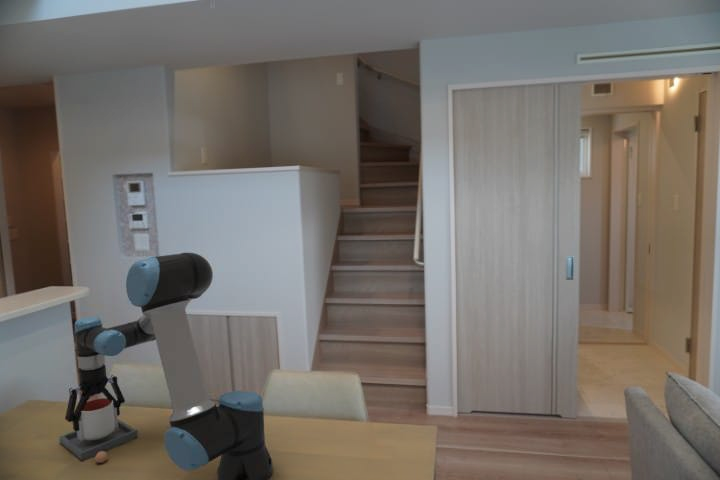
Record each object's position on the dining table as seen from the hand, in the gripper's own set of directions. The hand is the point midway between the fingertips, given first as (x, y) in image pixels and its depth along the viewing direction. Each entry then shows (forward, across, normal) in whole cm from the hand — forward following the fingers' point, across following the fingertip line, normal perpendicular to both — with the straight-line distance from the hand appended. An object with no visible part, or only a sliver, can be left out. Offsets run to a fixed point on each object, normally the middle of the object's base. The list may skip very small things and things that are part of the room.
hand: (98, 432), depth 156 cm
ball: (+3, +5, +14) cm, 15 cm away
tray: (+3, 0, 0) cm, 3 cm away
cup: (+1, 0, 0) cm, 1 cm away
